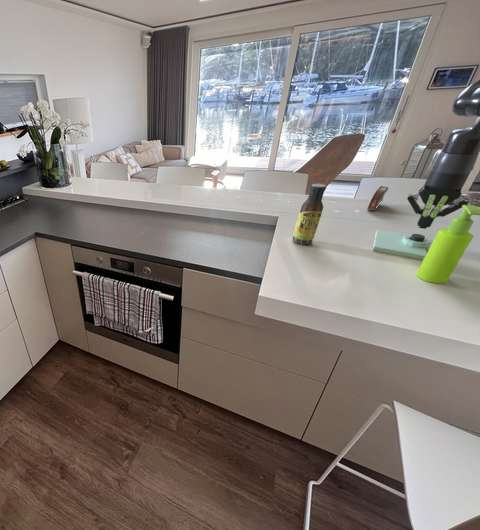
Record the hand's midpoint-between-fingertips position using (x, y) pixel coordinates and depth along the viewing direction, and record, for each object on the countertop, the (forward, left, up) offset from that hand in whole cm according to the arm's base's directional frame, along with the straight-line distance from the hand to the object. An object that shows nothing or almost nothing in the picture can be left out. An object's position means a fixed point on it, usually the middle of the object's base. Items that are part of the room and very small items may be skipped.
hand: (422, 227), depth 87 cm
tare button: (0, 0, -4) cm, 4 cm away
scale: (+3, 0, -7) cm, 8 cm away
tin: (+11, -36, -7) cm, 38 cm away
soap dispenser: (-4, +19, -7) cm, 21 cm away
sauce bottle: (+28, +12, -7) cm, 32 cm away
